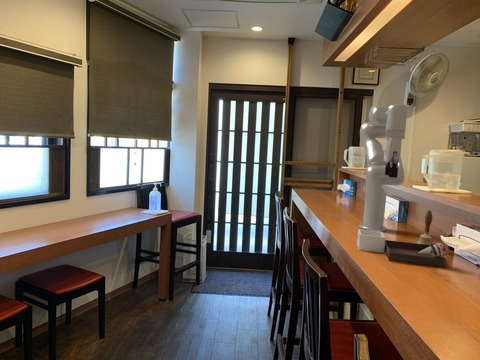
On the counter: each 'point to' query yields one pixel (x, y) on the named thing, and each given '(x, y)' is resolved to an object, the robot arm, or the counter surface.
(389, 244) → the tray
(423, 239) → the hand bell
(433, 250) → the ice cream cone
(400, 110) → the robot arm
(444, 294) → the counter surface
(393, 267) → the counter surface
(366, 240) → the frame
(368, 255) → the counter surface
